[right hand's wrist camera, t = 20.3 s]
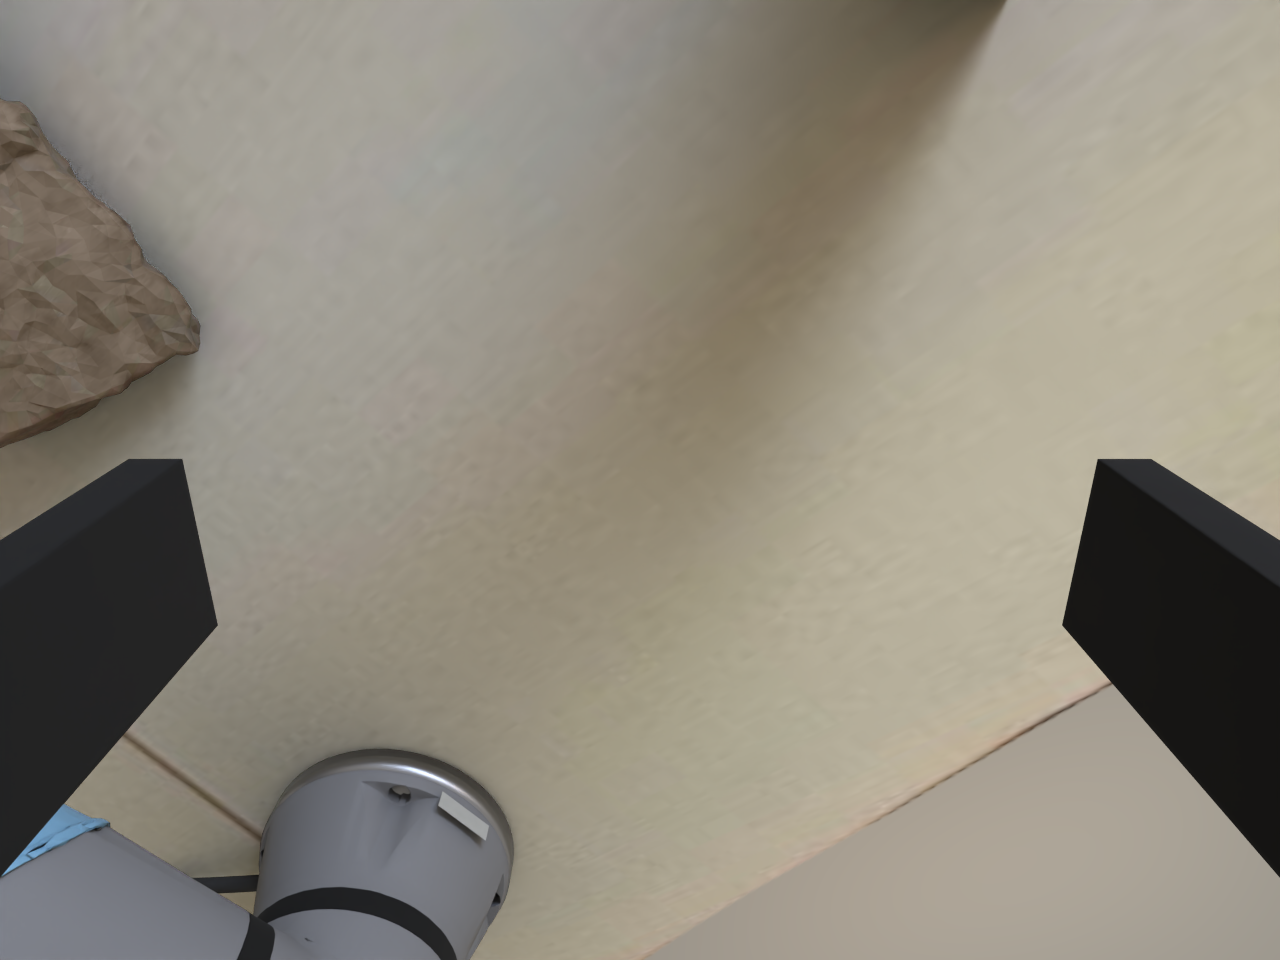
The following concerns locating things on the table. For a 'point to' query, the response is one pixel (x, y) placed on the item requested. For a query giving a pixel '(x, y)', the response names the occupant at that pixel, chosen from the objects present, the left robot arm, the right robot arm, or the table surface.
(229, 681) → the table surface
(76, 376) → the stone
